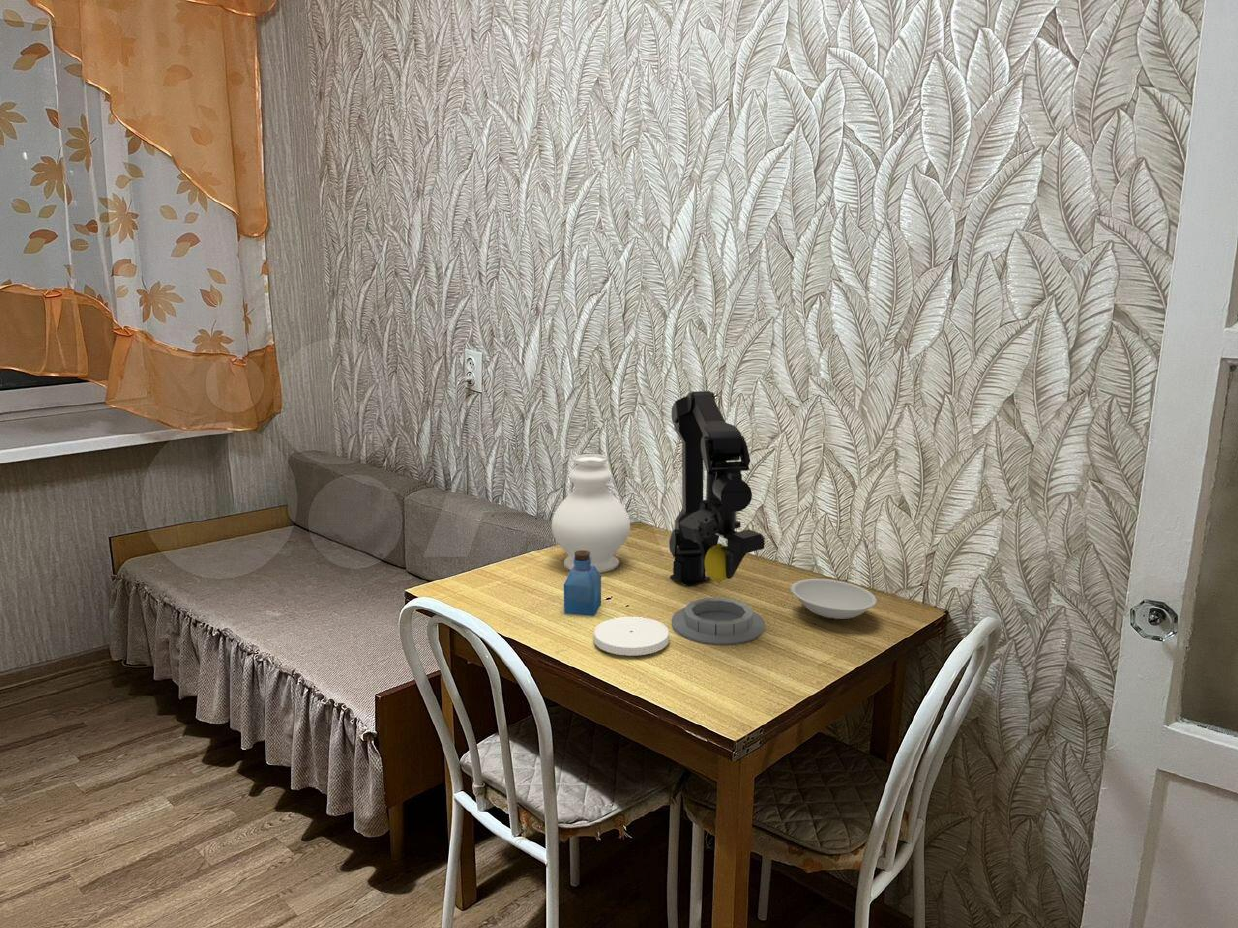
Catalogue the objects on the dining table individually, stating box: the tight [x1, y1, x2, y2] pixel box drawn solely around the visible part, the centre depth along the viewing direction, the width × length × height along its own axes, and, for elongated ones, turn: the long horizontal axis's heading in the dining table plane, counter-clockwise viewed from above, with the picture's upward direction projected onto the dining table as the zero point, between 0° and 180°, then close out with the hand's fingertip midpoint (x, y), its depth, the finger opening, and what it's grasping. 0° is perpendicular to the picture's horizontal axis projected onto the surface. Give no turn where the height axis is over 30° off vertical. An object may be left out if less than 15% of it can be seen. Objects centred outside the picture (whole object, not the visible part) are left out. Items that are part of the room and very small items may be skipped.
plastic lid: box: [593, 616, 670, 657], centre depth 176 cm, size 14×14×2 cm
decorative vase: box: [551, 453, 631, 574], centre depth 215 cm, size 18×18×25 cm
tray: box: [671, 597, 766, 646], centre depth 184 cm, size 18×18×3 cm
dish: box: [790, 578, 878, 620], centre depth 187 cm, size 18×14×5 cm
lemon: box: [705, 542, 728, 584], centre depth 181 cm, size 6×6×8 cm
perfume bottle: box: [563, 550, 602, 617], centre depth 191 cm, size 6×6×12 cm
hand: (719, 573), depth 182 cm, fingers closed on lemon, 5 cm apart
